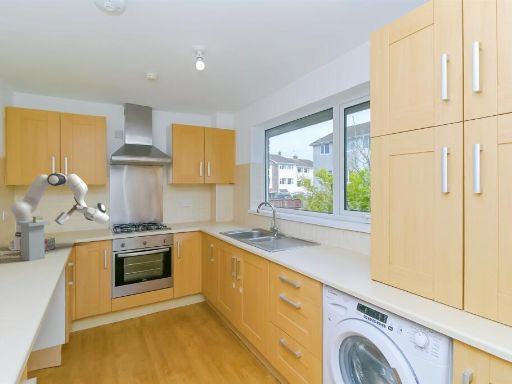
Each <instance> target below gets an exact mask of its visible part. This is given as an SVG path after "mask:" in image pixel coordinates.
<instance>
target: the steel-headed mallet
mask: <svg viewBox="0 0 512 384" xmlns="http://www.w3.org/2000/svg"><path fill="white" fill-rule="evenodd" d="M74 205H75V206H74V207H73V206H72V207H71V209H70V210H69V211H68V212H63V211H62V212H60V213H59V214H58V215H57V217H55V219H53V221H54V222H55V223H56V224H58V225H61V226H63V225H64V224H65V223H66V222H67V221H68V220H69V219H70V218H71V216H72V215H73V214H74V213H75V212H76V211H75V210H76V209H77V207H76V205H79V206H80V204H79V203H75V204H74Z"/></svg>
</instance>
